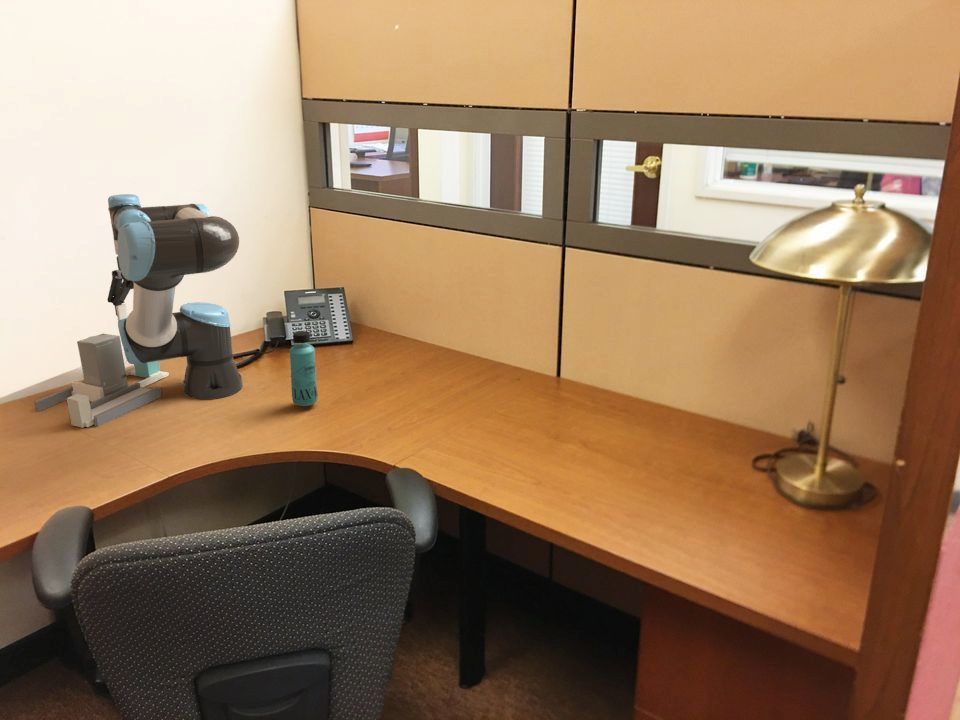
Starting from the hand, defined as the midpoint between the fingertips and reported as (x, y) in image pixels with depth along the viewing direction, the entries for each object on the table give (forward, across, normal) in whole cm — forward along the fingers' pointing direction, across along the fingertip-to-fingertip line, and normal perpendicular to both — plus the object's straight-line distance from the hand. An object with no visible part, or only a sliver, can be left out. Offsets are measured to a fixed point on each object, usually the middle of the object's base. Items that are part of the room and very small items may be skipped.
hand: (143, 331), depth 207 cm
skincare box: (+14, 0, +14) cm, 20 cm away
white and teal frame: (+13, 0, +9) cm, 16 cm away
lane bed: (+13, -3, +19) cm, 24 cm away
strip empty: (+13, -10, +21) cm, 26 cm away
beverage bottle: (+14, -51, -2) cm, 53 cm away
